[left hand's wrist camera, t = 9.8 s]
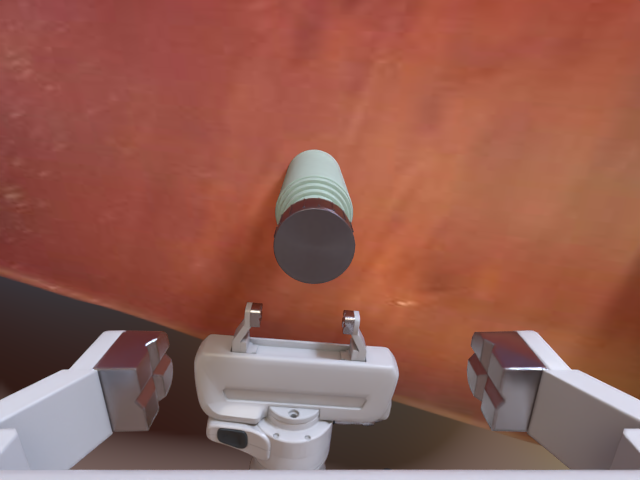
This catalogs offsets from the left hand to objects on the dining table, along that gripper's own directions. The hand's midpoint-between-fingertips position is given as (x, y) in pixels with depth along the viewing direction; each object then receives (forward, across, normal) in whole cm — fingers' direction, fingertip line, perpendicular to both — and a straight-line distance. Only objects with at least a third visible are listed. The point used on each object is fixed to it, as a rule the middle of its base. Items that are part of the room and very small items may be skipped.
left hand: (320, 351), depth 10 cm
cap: (+11, 0, +1) cm, 11 cm away
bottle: (+29, +1, +1) cm, 29 cm away
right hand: (+24, +2, +13) cm, 27 cm away
